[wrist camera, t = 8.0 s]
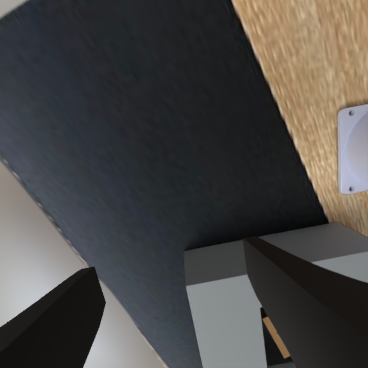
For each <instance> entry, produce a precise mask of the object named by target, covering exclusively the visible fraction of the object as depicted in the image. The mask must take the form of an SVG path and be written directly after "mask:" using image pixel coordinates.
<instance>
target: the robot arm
mask: <svg viewBox="0 0 368 368" xmlns="http://www.w3.org/2000/svg"><path fill="white" fill-rule="evenodd" d="M349 111H351V115H349ZM350 187H351V189H350V190H349V188H350ZM338 189H339V192H340V193H341V194H344V195H347V194H352V193H357V192H363V191H368V104H365V105H360V106H354V107H349V108H344V109H341V110H340V111H339V112H338ZM243 245H244V253H245V261H246V268H247V276H248V278H249V280H250V283H251V285H252V287H253V290H254V292H255V294H256V296H257V298H258V300H259V302H260V303H261V305H262V307H263V309H264V310H265V312H266V314H267V316H268V317H269V319H270V321H271V322H272V324H273V326H274V328H275V329H276V331H277V333H278V335H279V336H280V338H281V340H282V341H283V343H284V345H285V347H286V348H287V350H288V352H289V354H290V356H291V358H292V360H293V362H294V364H295V366H296V368H368V283H367V282H363V281H360V280H357V279H354V278H351V277H348V276H345V275H342V274H339V273H337V272H334V271H331V270H328V269H326V268H323V267H320V266H318V265H316V264H313V263H311V262H309V261H306V260H304V259H302V258H299V257H297V256H295V255H293V254H291V253H289V252H287V251H285V250H283V249H281V248H279V247H277V246H275V245H273V244H271V243H269V242H267V241H265V240H263V239H261V238H259V237H256V236H253V237H247V238H243ZM105 304H106V302H105V298H104V295H103V292H102V289H101V286H100V283H99V280H98V276H97V273H96V270H95V267H90V268H84V269H81V270H79V271H78V272H76V273H75V274H73V275H72V276H70V277H69V278H68V279H66V280H65V281H63V282H62V283H61V284H59V285H58V286H57V287H55V288H54V289H53V290H52V291H50V292H49V293H47V294H46V295H45V296H43V297H42V298H41V299H40V300H38V301H37V302H35V303H34V304H33V305H31V306H30V307H28V308H27V309H26V310H24V311H23V312H21V313H20V314H19V315H17V316H16V317H14V318H13V319H12V320H10V321H9V322H7V323H6V324H5V325H3V326H1V327H0V368H83V366H84V364H85V361H86V359H87V356H88V354H89V352H90V349H91V346H92V344H93V341H94V339H95V336H96V334H97V331H98V329H99V326H100V323H101V319H102V316H103V312H104V307H105Z"/></svg>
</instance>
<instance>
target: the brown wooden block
mask: <svg viewBox="0 0 368 368" xmlns="http://www.w3.org/2000/svg"><path fill="white" fill-rule="evenodd" d="M260 312H261V318H262V320H263V321H264V323H265V325H266V327H267V328H268V330H269V332H270V334H271V335H272V337H273V339H274V341H275V343H276V344H277V346H278V348H279V350H280V351H281V353H282V355H283V357H284V359H285V358H287V357H289V356H290V354H289V352H288V350H287V348H286V347H285V345H284V343H283V341H282V340H281V338H280V336H279V335H278V333H277V331H276V329H275V328H274V326H273V324H272V322H271V321H270V319H269V317H268V316H267V314H266V312H265V310H264V309H263V307H260Z"/></svg>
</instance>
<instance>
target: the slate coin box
mask: <svg viewBox="0 0 368 368" xmlns="http://www.w3.org/2000/svg"><path fill="white" fill-rule="evenodd" d="M259 238H261V239H263V240H265V241H267V242H269V243H271V244H273V245H275V246H277V247H279V248H281V249H283V250H285V251H287V252H289V253H291V254H293V255H295V256H297V257H299V258H302V259H304V260H306V261H309V262H311V263H313V264H316V265H318V266H320V267H323V268H326V269H328V270H331V271H334V272H337V273H339V274H342V275H345V276H348V277H351V278H354V279H357V280H360V281H363V282H367V283H368V237H366V236H364V235H362V234H360V233H358V232H356V231H354V230H352V229H350V228H348V227H346V226H344V225H342V224H340V223H338V222H334V223H329V224H323V225H318V226H313V227H308V228H302V229H297V230H292V231H287V232H281V233H276V234H271V235H266V236H260V237H259ZM183 253H184V266H185V280H186V289H187V293H188V298H189V303H190V308H191V312H192V317H193V322H194V327H195V331H196V336H197V341H198V346H199V350H200V355H201V360H202V365H203V368H296V366H295V364H294V362H293V360H292V358H291V356H289V357H287V358H285V359H284V357H283V355H282V353H281V351H280V350H279V348H278V346H277V344H276V343H275V341H274V339H273V337H272V335H271V334H270V332H269V330H268V328H267V327H266V325H265V323H264V321H263V320H262V318H261V312H260V307H262V305H261V303H260V302H259V300H258V298H257V296H256V294H255V292H254V290H253V287H252V285H251V283H250V280H249V278H248V276H247V268H246V261H245V253H244V245H243V240H239V241H234V242H229V243H224V244H218V245H213V246H208V247H203V248H197V249H192V250H187V251H183Z"/></svg>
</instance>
